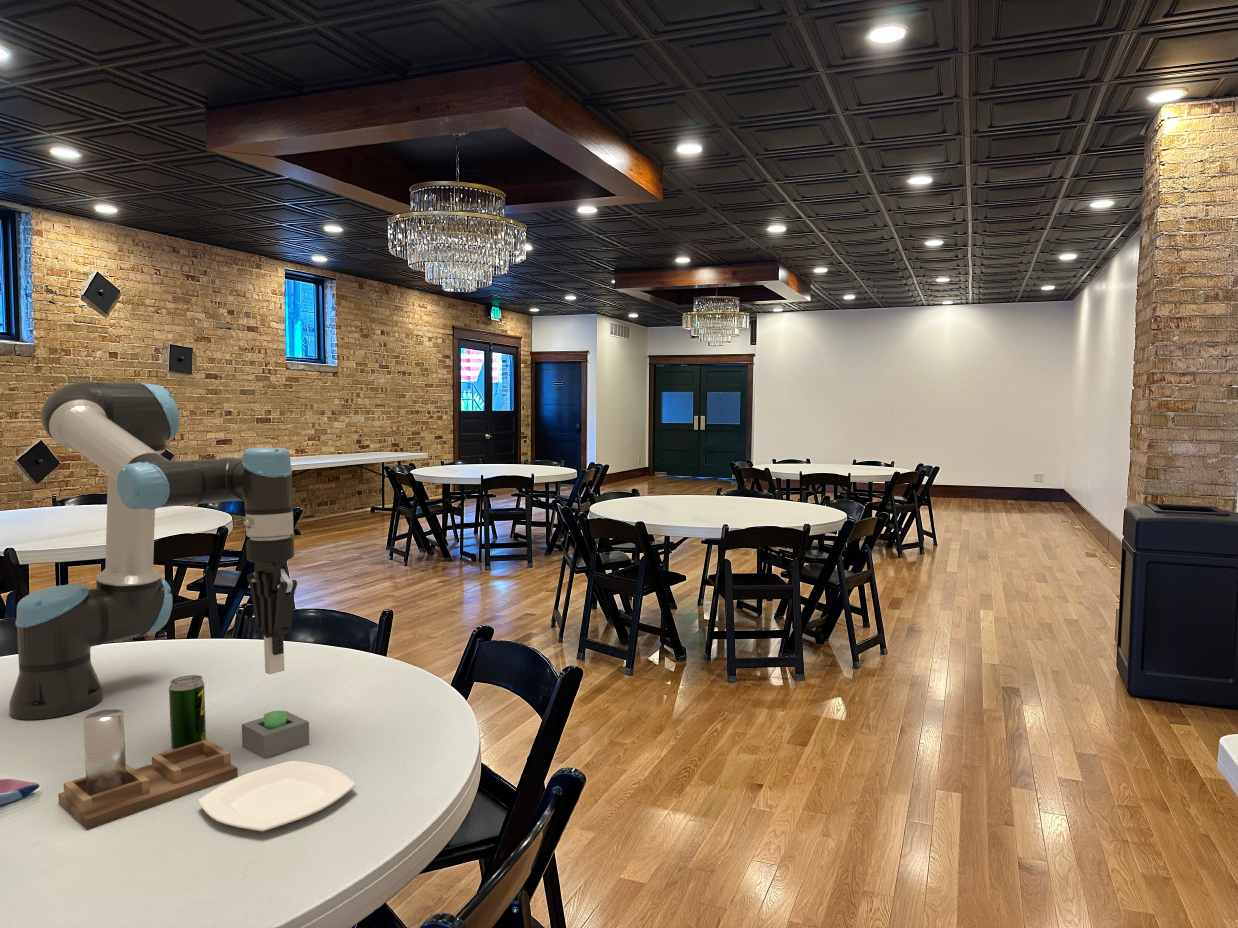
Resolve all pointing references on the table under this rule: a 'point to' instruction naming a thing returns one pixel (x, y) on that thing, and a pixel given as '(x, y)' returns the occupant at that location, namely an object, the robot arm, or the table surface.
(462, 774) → the table surface
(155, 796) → the wooden tray
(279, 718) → the button
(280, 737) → the grey square socket block
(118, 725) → the cylinder
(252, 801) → the plate
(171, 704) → the green drink can
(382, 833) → the table surface
